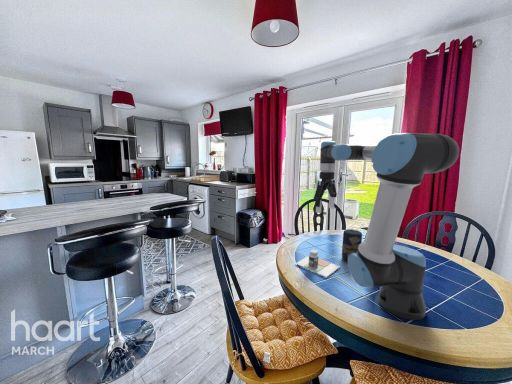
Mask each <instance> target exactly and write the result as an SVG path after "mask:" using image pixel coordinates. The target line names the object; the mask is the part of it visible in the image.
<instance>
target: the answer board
mask: <svg viewBox="0 0 512 384" xmlns="http://www.w3.org/2000/svg"><path fill="white" fill-rule="evenodd" d="M296 264H298V265H300V266H302V267H304V268H306V269H308V270H311V271H313V272H315V273H317V274H320V275H322V276H324V277H326V278H327V277H328V276H329V275H331V274H332V273H333V272H334V271H336V270H337V269H338V270H340V269H339V268H341V266H339V265H337V264H334V263H332V262H330V261H327V260H324V259H322V258H319V257H318V267H317V268H310V267H309V255H308V256H306V257H304V258H303V259H300V260H299V261H297V262H296V263H295V265H296ZM304 268H303V269H304ZM306 269H305V270H306ZM308 270H307V271H308ZM338 270H337V271H338ZM337 271H336V272H337ZM315 273H314V274H315ZM334 273H335V272H334ZM334 273H333V274H334ZM317 274H316V275H317ZM333 274H332V275H333ZM332 275H331V276H332ZM324 277H323V278H324ZM329 277H330V276H329ZM329 277H328V278H329ZM326 278H325V279H326ZM328 278H327V279H328Z"/></svg>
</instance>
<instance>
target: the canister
mask: <svg viewBox="0 0 512 384" xmlns="http://www.w3.org/2000/svg"><path fill="white" fill-rule="evenodd" d="M342 232H343V234H342V245H341V247H342V248H341V258H342V260H343V261H345V262H347V263H348V257H349V255H350V254H352V253H357V250H358V247H359V245H360V244H361V243H363V242H362V240H363V233H362V232H361V231H360V230H357V229H353V228H351V229H350V228H349V229H344V230H343V231H342Z"/></svg>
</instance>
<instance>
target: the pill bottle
mask: <svg viewBox="0 0 512 384" xmlns="http://www.w3.org/2000/svg"><path fill="white" fill-rule="evenodd" d="M308 256H309V267H310V268H317V267H318V258H319V251H318V250H317V249H310V250H309V254H308Z"/></svg>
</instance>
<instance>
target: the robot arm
mask: <svg viewBox="0 0 512 384" xmlns="http://www.w3.org/2000/svg"><path fill="white" fill-rule="evenodd" d="M319 149H320V155H319V156H320V159H319V179H320V180H321V181H317V184H316V185H317V186H316V189H315V193H314V196H313V200H314V201H316V202H315V213H317V214H322V203H323V201H322V198H323V196H324V194H325V191H327V192H328V195H329V197H328V199H329V200H328V209H331V210H334V208H335V198H337V197H338V196H337V195H338V192H337V188H336V183H335V182H336V181H335V169H336V161H338V162H339V161H366V162H367V161H368V162H369V161H370V162H371V163H372V165H371V166H372V168H373V170H374V171H375V172H376V178H377V179H378V180H379V185H378V189H377V193H376V197H375V201H374V205H373V207H372V212H371V216H370V219H369V223H368V226H367V227H368V228H367V230H366V231H367V232H366V234H365V239H364V242H362V243H361V244H360V245H359V247H358V250H357V253H352V254H350V255H349V257H348V262H347V267H348V270H349V272H350V275H351V277H352V279H353V281H354V282H355V283H356V284H357V285H358V286H360V287H362V288H373V287H381V288H380V289H379V291H378V294H377V295H378V296H377V297H378V298H377V300H378V303H379V305H380V306H381V307H382V308H383V309H384V310H386V311H387V312H388V313H390V314H391V315H394V316H396V317H398V318H401V319H405V320H408V321H409V320H410V321H419V320H420V321H421V320H423V319H424V318H425V317H426V314H427V307H426V302H425V299H424V296H423V287H424V281H425V275H426V268H427V264H426V263H427V259H426V258H427V257H426V256H425V255H424V254H423V253H422V252H420V251H418V250H416V249H413V248H411V247H408V246H404V245H399V244H395V243H396V241H397V238H398V234H399V232H400V228H401V225H402V222H403V219H404V216H405V213H406V210H407V207H408V203H409V200H410V197H411V194H412V192H413V189H414V188H415V187H417V186H420V185H421V184H422V181H423V179H424V176H425V174H436V173H441V172H443V171H446V170H448V169H449V168H450V167H452V166H453V165H454V164H455V163H456V162H457V160H458V158H459V155H460V154H459V153H460V148H459V145H458V142H457V141H456V140H455V139H453V138H452V137H451V136H449V135H446V134H442V133H418V132H417V133H414V132H413V133H410V132H401V133H392V134H388V135H386V136H385V137H383V138H382V139H381V140H379V141H378V142H377V143H366V144H365V143H364V144H363V143H362V144H359V143H358V144H355V143H354V144H352V143H349V144H347V143H337V142H336V141H332V140H331V141H329V140H328V141H322V142H321V144H320V148H319Z"/></svg>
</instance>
